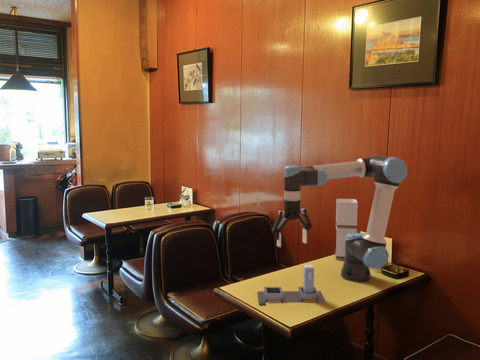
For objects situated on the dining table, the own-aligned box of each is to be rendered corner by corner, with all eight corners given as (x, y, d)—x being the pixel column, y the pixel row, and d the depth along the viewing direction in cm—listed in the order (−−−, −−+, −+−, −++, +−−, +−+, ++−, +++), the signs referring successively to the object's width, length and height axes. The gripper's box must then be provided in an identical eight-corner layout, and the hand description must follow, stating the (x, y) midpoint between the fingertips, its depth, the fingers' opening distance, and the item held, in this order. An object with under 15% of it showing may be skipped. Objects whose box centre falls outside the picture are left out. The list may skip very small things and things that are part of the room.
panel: (320, 293, 183) (320, 285, 183) (326, 304, 171) (326, 295, 171) (257, 293, 183) (257, 285, 183) (258, 304, 171) (258, 296, 171)
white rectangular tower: (353, 255, 239) (355, 199, 235) (355, 260, 229) (357, 202, 224) (334, 254, 241) (336, 198, 237) (335, 259, 231) (337, 201, 227)
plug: (311, 294, 179) (312, 264, 177) (314, 300, 174) (314, 268, 172) (303, 294, 179) (303, 264, 177) (305, 300, 174) (305, 268, 172)
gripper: (311, 196, 185) (310, 239, 187) (264, 200, 176) (264, 245, 178) (320, 198, 178) (319, 243, 181) (271, 203, 169) (271, 250, 171)
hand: (291, 244), depth 179 cm, fingers open, 13 cm apart
